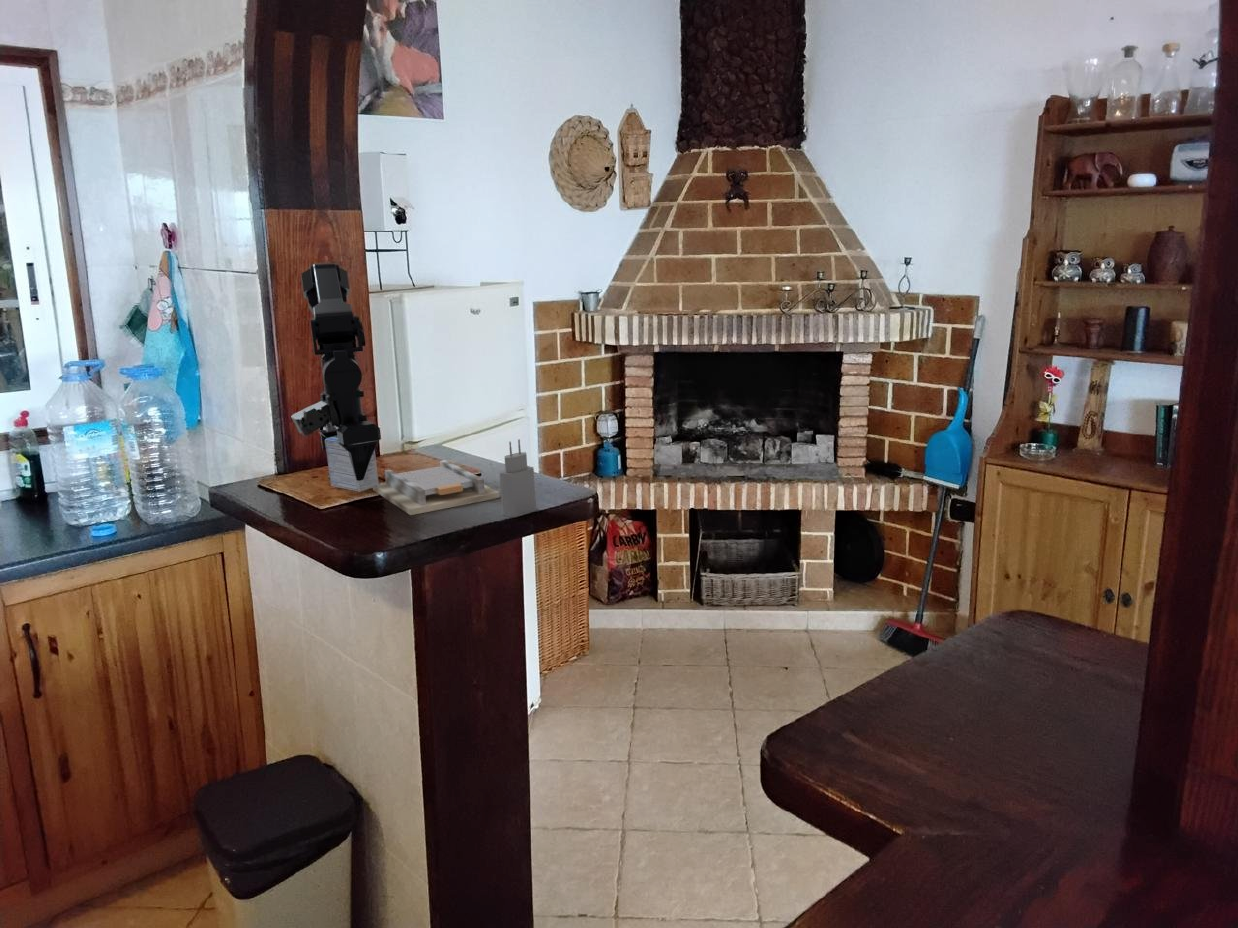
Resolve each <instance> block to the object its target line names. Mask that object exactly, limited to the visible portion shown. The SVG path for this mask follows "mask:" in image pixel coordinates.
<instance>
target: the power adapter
mask: <svg viewBox="0 0 1238 928" xmlns="http://www.w3.org/2000/svg"><path fill="white" fill-rule="evenodd" d="M508 443H509V454H507V455H504V466H505V467H504V469H503V470H500V471H499V485H500V499H501V510H502V511H501V514H502V516H505V517H507V518H508V517H509V518H518V517H520V516H523V515H526V514H530V513H532V512H536V511H537V499H536V486H535V484H536V483H535V470H534V466H531V465H530V466H529V465H528V460H527V459H528V458H527V452H526V451H525V452H524V451H521V439H517V444H518V445H517V446H518V452H514V453H513V451H512V450H513V448H512V442H511V441H508Z"/></svg>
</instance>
